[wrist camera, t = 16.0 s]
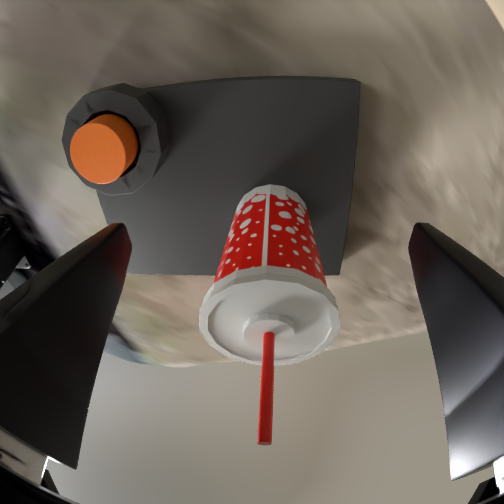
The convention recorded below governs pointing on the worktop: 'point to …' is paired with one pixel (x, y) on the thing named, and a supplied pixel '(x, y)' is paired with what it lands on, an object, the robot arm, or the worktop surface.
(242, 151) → the scale
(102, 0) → the worktop surface
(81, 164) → the button
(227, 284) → the beverage cup
